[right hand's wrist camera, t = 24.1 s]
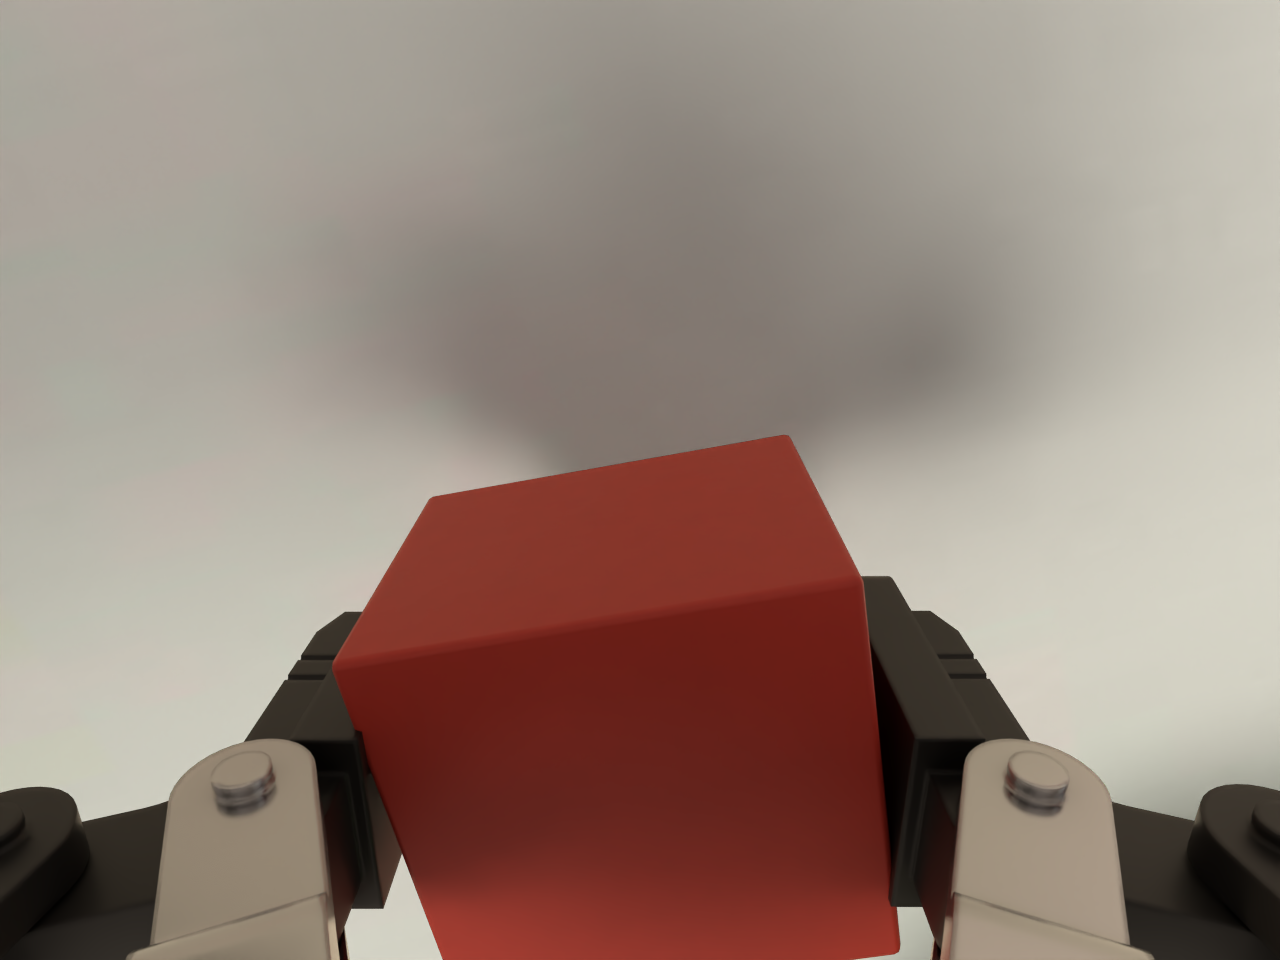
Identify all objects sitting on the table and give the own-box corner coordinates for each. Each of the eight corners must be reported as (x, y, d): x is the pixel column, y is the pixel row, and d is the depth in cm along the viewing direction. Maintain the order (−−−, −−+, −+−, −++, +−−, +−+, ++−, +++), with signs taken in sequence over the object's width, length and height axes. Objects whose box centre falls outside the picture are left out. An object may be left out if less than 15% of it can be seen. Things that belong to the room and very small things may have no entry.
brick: (428, 495, 12) (325, 665, 8) (789, 431, 12) (865, 576, 8) (511, 767, 14) (461, 1015, 10) (826, 719, 13) (903, 956, 9)
